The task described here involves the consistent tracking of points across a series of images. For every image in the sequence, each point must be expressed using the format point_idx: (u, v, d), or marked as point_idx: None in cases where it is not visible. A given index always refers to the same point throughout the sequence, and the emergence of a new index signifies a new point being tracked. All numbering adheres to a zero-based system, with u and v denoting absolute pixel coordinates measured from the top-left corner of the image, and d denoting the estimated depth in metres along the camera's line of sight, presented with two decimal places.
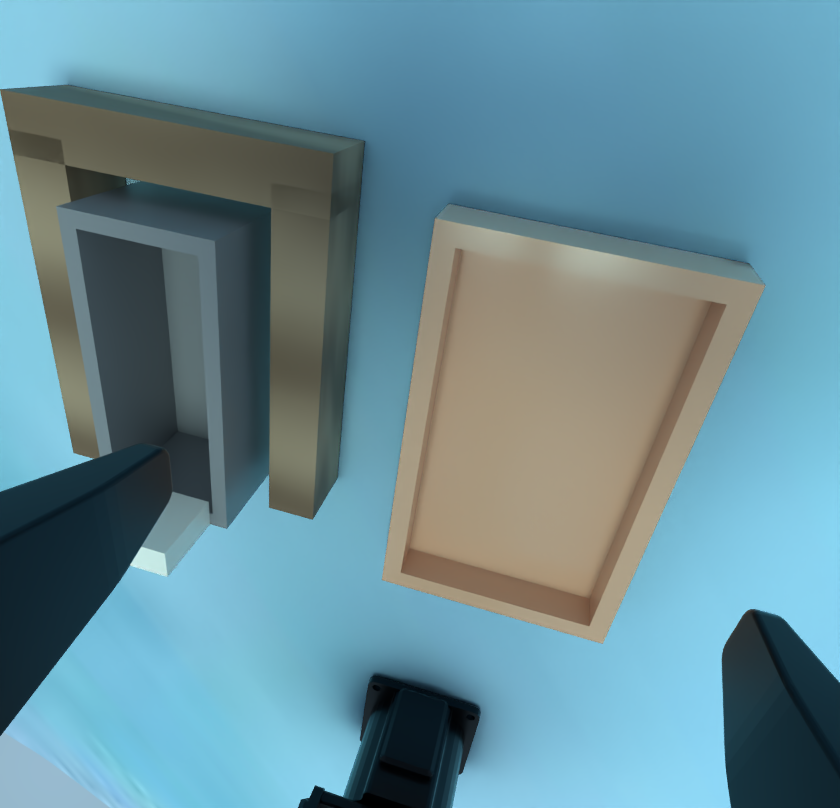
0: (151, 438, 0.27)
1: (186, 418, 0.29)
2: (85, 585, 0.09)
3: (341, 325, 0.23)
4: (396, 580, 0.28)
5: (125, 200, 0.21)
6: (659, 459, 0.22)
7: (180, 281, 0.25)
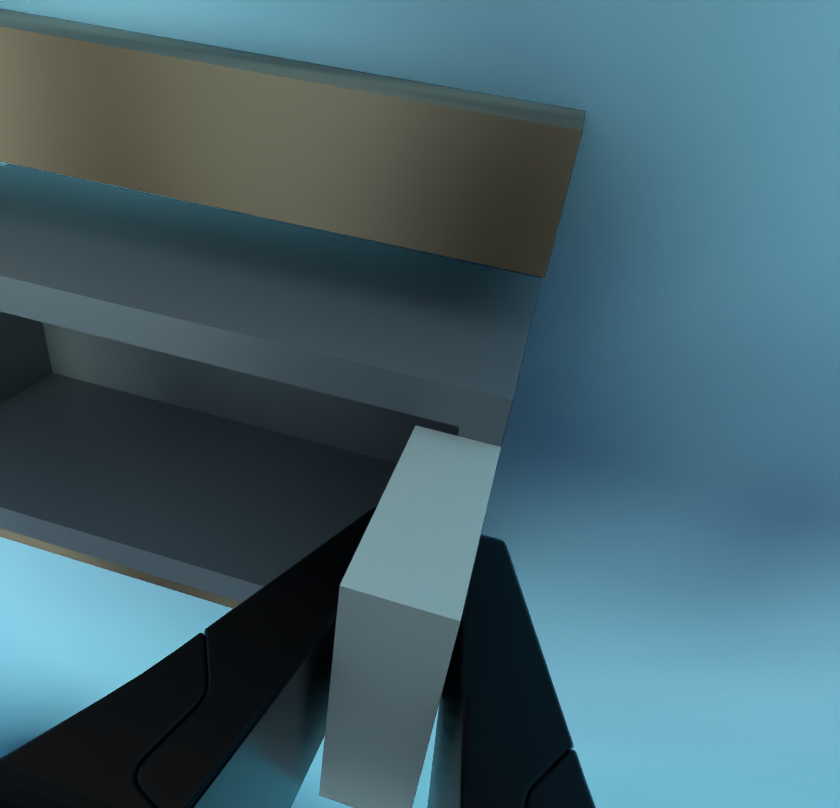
0: None
1: None
2: None
3: (104, 32, 0.11)
4: None
5: None
6: None
7: (160, 377, 0.15)
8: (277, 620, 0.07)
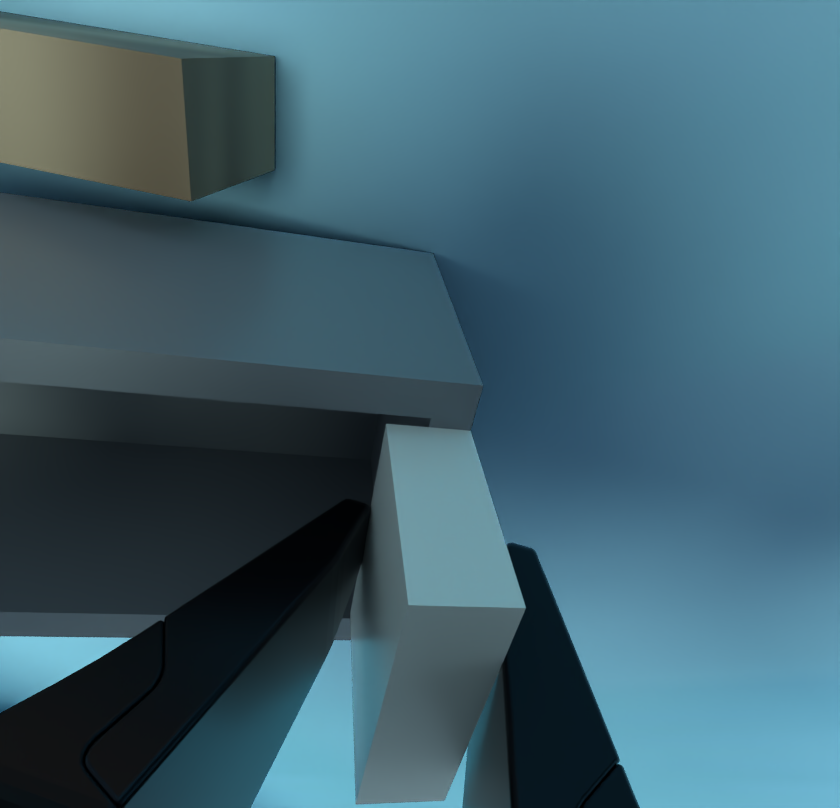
0: None
1: (335, 439, 0.14)
2: (313, 656, 0.08)
3: None
4: None
5: None
6: None
7: None
8: (238, 608, 0.07)
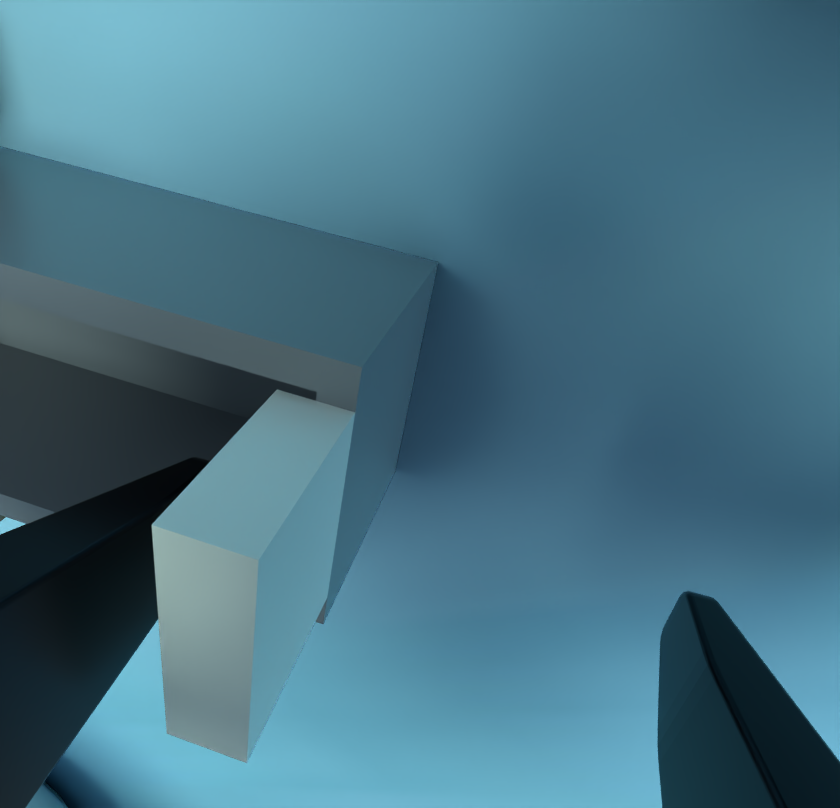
0: None
1: None
2: (142, 603, 0.08)
3: None
4: None
5: None
6: None
7: (80, 343, 0.15)
8: (35, 546, 0.07)
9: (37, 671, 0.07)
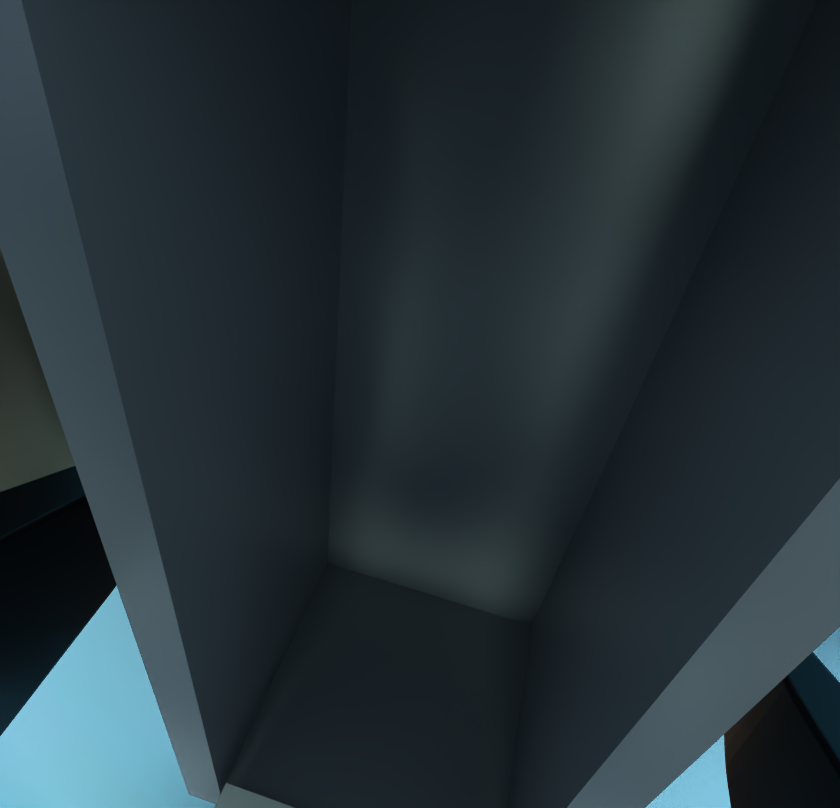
0: (287, 622, 0.11)
1: (353, 544, 0.12)
2: (85, 585, 0.09)
3: None
4: None
5: None
6: None
7: (396, 215, 0.08)
8: None
9: None
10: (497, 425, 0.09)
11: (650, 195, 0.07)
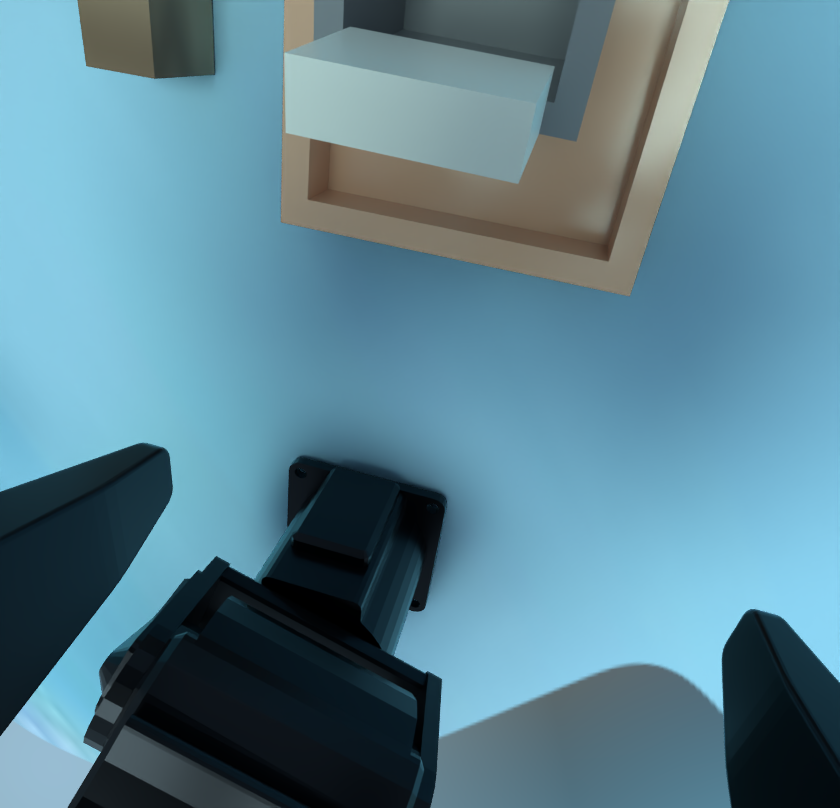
0: None
1: None
2: (85, 585, 0.09)
3: None
4: (302, 218, 0.18)
5: None
6: None
7: None
8: None
9: None
10: None
11: None
